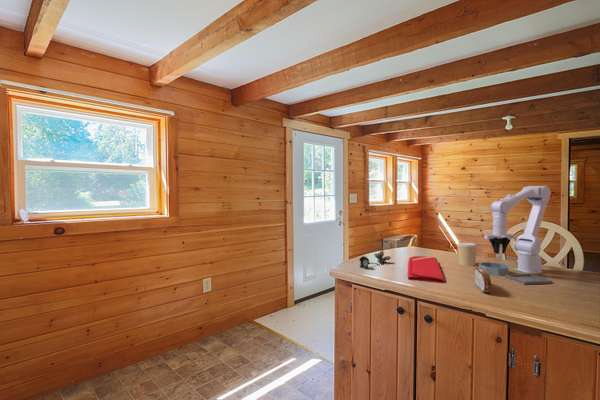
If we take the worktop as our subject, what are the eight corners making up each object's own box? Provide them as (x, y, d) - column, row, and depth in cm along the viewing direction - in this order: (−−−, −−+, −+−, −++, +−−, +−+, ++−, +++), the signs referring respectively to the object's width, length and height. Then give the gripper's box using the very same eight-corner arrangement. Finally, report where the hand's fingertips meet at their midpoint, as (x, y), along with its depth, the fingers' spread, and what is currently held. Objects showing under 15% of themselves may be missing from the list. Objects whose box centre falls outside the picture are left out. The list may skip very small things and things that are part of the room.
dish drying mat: (407, 280, 142) (407, 272, 141) (408, 261, 180) (408, 255, 180) (444, 284, 136) (444, 276, 136) (437, 263, 175) (437, 257, 174)
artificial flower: (356, 269, 166) (353, 251, 168) (383, 268, 178) (381, 251, 181) (368, 268, 159) (365, 249, 161) (395, 267, 172) (393, 249, 174)
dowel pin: (499, 258, 151) (499, 243, 151) (503, 259, 149) (503, 244, 148) (495, 258, 151) (495, 243, 151) (498, 259, 148) (499, 244, 148)
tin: (492, 295, 120) (492, 274, 120) (483, 295, 121) (483, 274, 121) (481, 284, 134) (481, 265, 134) (473, 283, 135) (473, 265, 135)
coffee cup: (471, 263, 172) (472, 242, 171) (480, 267, 163) (480, 245, 162) (454, 263, 173) (454, 242, 172) (461, 267, 164) (461, 245, 163)
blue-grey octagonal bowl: (495, 269, 159) (495, 261, 159) (514, 276, 147) (515, 267, 147) (473, 270, 158) (473, 262, 157) (491, 277, 145) (491, 268, 145)
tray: (530, 277, 145) (530, 273, 145) (551, 284, 134) (551, 280, 134) (505, 278, 144) (505, 274, 144) (524, 285, 133) (524, 281, 133)
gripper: (492, 227, 144) (491, 255, 145) (520, 226, 146) (519, 254, 146) (481, 225, 151) (481, 252, 152) (508, 224, 153) (508, 251, 153)
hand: (499, 253), depth 150 cm, fingers closed on dowel pin, 2 cm apart
